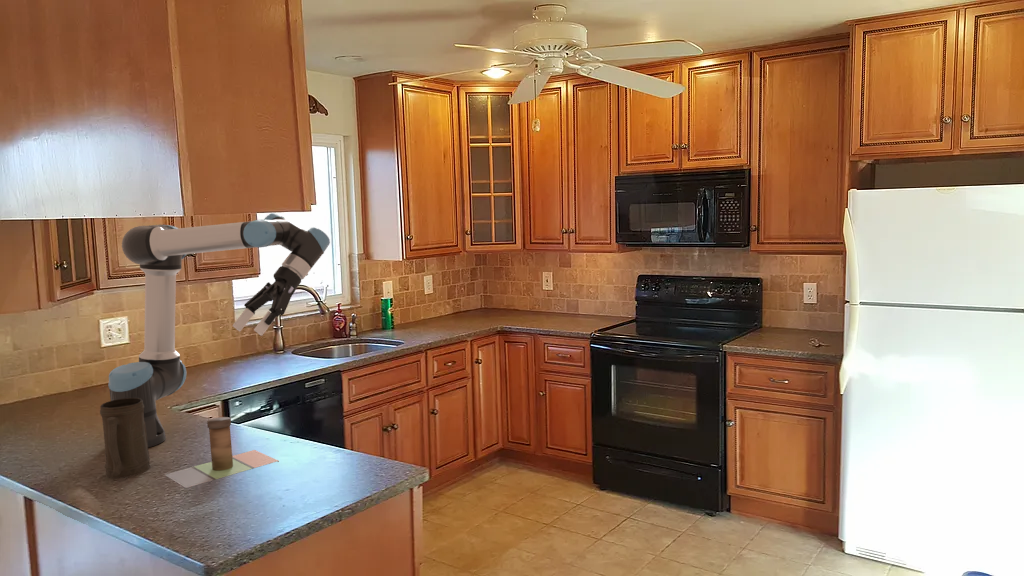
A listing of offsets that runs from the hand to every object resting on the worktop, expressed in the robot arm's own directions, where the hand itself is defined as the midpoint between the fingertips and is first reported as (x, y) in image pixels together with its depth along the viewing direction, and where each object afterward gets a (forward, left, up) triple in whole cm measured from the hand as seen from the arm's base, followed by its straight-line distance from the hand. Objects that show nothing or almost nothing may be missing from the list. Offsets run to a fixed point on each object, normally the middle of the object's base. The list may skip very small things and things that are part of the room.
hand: (246, 330), depth 204 cm
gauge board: (+14, -16, -34) cm, 40 cm away
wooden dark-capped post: (+14, -16, -32) cm, 38 cm away
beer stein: (-2, -34, -34) cm, 48 cm away
